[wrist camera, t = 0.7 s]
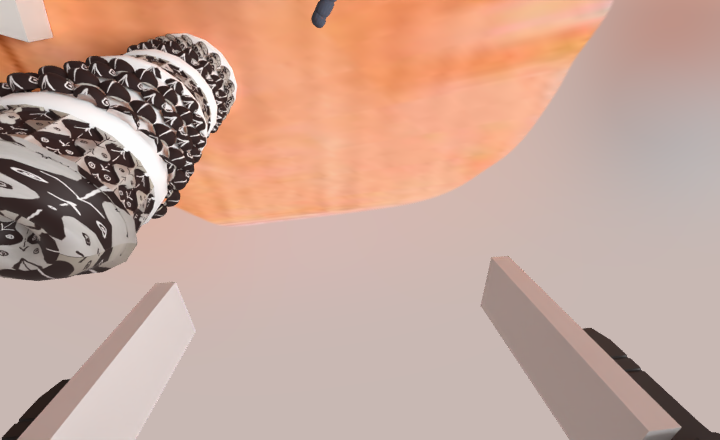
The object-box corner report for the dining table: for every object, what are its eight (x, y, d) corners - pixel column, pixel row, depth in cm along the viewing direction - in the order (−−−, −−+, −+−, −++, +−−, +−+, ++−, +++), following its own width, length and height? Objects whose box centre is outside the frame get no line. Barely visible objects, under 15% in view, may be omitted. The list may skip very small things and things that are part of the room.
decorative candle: (252, 62, 29) (151, 196, 11) (226, 135, 34) (123, 319, 15) (154, 4, 25) (-294, 52, 7) (139, 95, 30) (-152, 279, 11)
